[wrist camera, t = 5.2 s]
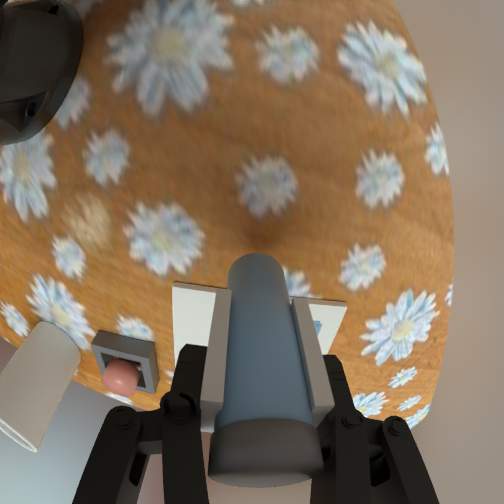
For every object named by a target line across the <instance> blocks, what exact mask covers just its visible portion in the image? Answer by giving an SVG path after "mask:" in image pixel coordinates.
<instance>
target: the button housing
mask: <svg viewBox="0 0 504 504" xmlns="http://www.w3.org/2000/svg"><path fill="white" fill-rule="evenodd" d="M91 346H92V349H93V352H94V355H95V358H96V361H97V364H98V366H99V369H100V372H101V374H102V375H103V373H104V371H105V369H106V367H107V365H108V363H109V361H110V360H111V359H113V356H116V357H120V358H124V359H128V360H132V361H136V362H141V367H142V372H141V371H139V373H140V378H139V381H138V383H137V386H136V389H135V390H138V391H142V392H147V393H151V394H155V393H156V389H157V386H158V383H159V375H158V368H157V361H156V354H155V346H154V343H152V342H147V341H143V340H138V339H133V338H129V337H125V336H121V335H116V334H112V333H108V332H104V331H101V330H99V331H98V333H97V334H96V336H95V338H94V339H93V341H92V343H91ZM112 355H113V356H112Z"/></svg>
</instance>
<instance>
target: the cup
mask: <svg viewBox="0 0 504 504" xmlns="http://www.w3.org/2000/svg"><path fill="white" fill-rule="evenodd" d="M80 362H81V353H80V351H79V349H78V347H77V345H76V344H75V343H74V341H73V340H72V339H71V338H70V337H69V336H68V335H67V334H66V333H65V332H64V331H63V330H61V329H60V328H59V327H57V326H55V325H54V324H52V323H49V322H45V321H41V322H39V323H37V325H36V326H35V327H34V328H33V330H32V331H31V332H30V333H29V335H28V336H27V337H26V339H25V340H24V341H23V343H22V344H21V345H20V347H19V348H18V350H17V351H16V352H15V354H14V355H13V357H12V358H11V360H10V361H9V362H8V364H7V365H6V367H5V368H4V370H3V371H2V373H1V374H0V429H1V430H2V431H3V432H4V433H6V434H7V435H8V436H10V437H11V438H12V439H13V440H15V441H16V442H18V443H19V444H21V445H22V446H24V447H25V448H27V449H29V450H31V451H33V452H37V451H38V449H39V446H40V444H41V441H42V439H43V437H44V435H45V432H46V430H47V428H48V425H49V423H50V421H51V419H52V417H53V414H54V412H55V410H56V408H57V406H58V404H59V402H60V400H61V398H62V396H63V394H64V392H65V390H66V388H67V386H68V384H69V382H70V380H71V379H72V377H73V375H74V373H75V371H76V369H77V367H78V366H79V364H80Z"/></svg>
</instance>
